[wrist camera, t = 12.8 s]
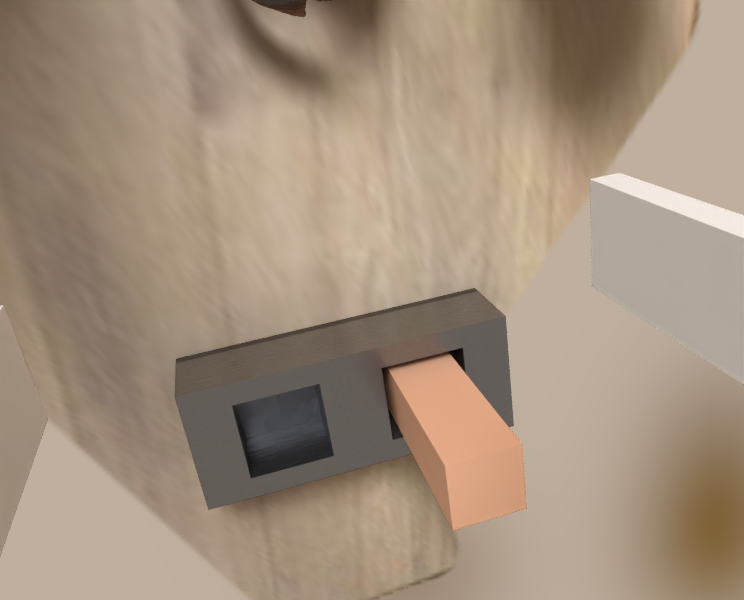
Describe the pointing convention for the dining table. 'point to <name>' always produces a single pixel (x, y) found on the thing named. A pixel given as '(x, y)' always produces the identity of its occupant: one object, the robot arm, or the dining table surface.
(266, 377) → the grey peg hole block
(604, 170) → the dining table surface
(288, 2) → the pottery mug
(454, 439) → the terracotta peg
